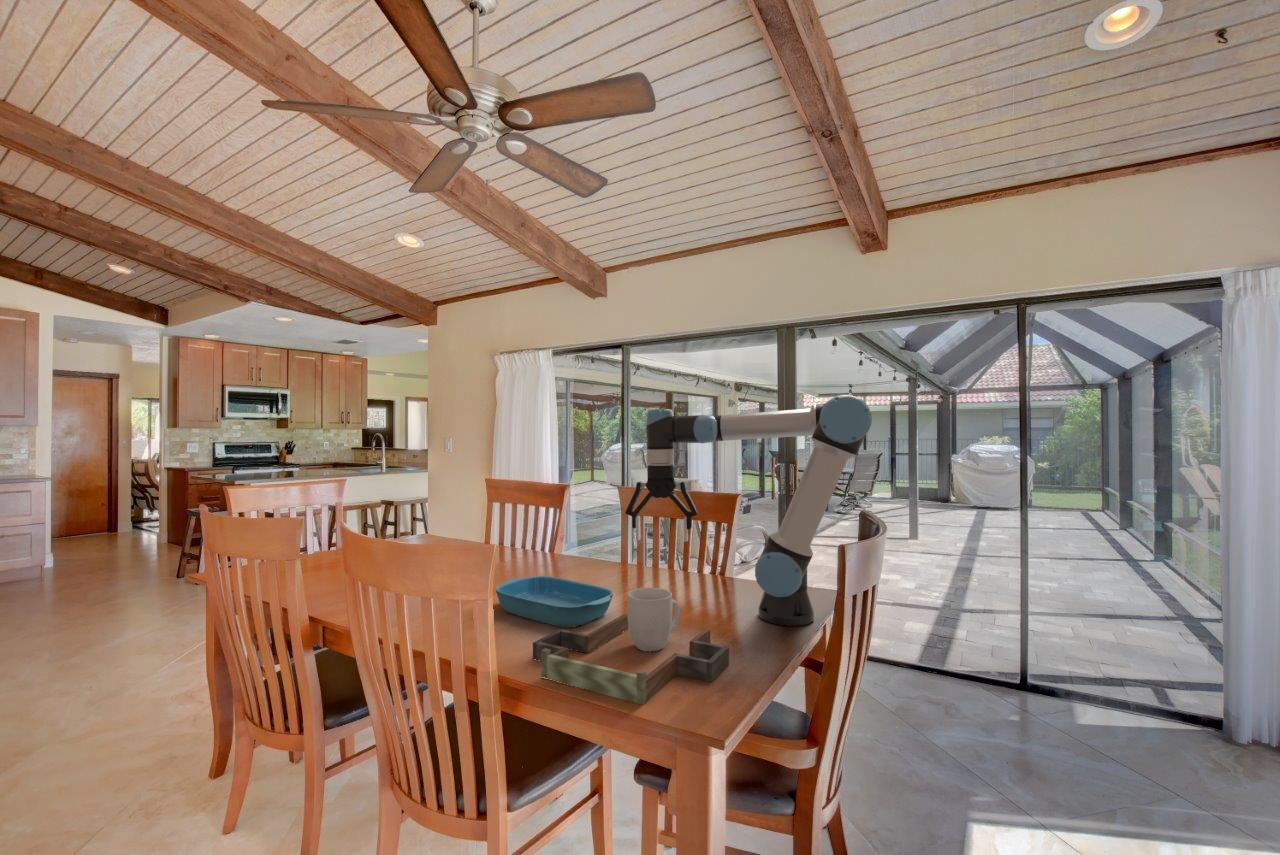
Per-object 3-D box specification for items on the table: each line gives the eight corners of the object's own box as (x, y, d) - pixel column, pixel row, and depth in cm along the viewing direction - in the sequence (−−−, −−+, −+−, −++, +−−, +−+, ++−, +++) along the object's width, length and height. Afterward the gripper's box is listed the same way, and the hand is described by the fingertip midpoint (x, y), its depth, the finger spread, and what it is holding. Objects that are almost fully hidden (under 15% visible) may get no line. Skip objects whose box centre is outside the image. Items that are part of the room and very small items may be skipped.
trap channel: (741, 651, 139) (741, 626, 139) (680, 714, 109) (680, 682, 109) (599, 623, 159) (599, 601, 159) (512, 671, 128) (512, 643, 128)
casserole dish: (628, 614, 168) (628, 589, 168) (578, 637, 149) (578, 609, 149) (534, 594, 188) (534, 571, 188) (480, 612, 170) (480, 587, 170)
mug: (663, 632, 152) (663, 582, 152) (693, 644, 144) (693, 591, 144) (618, 645, 143) (618, 592, 143) (646, 659, 134) (647, 602, 134)
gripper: (706, 463, 164) (708, 538, 164) (620, 463, 170) (622, 536, 169) (703, 465, 157) (705, 544, 157) (614, 465, 162) (615, 541, 162)
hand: (662, 540), depth 163 cm, fingers open, 13 cm apart
